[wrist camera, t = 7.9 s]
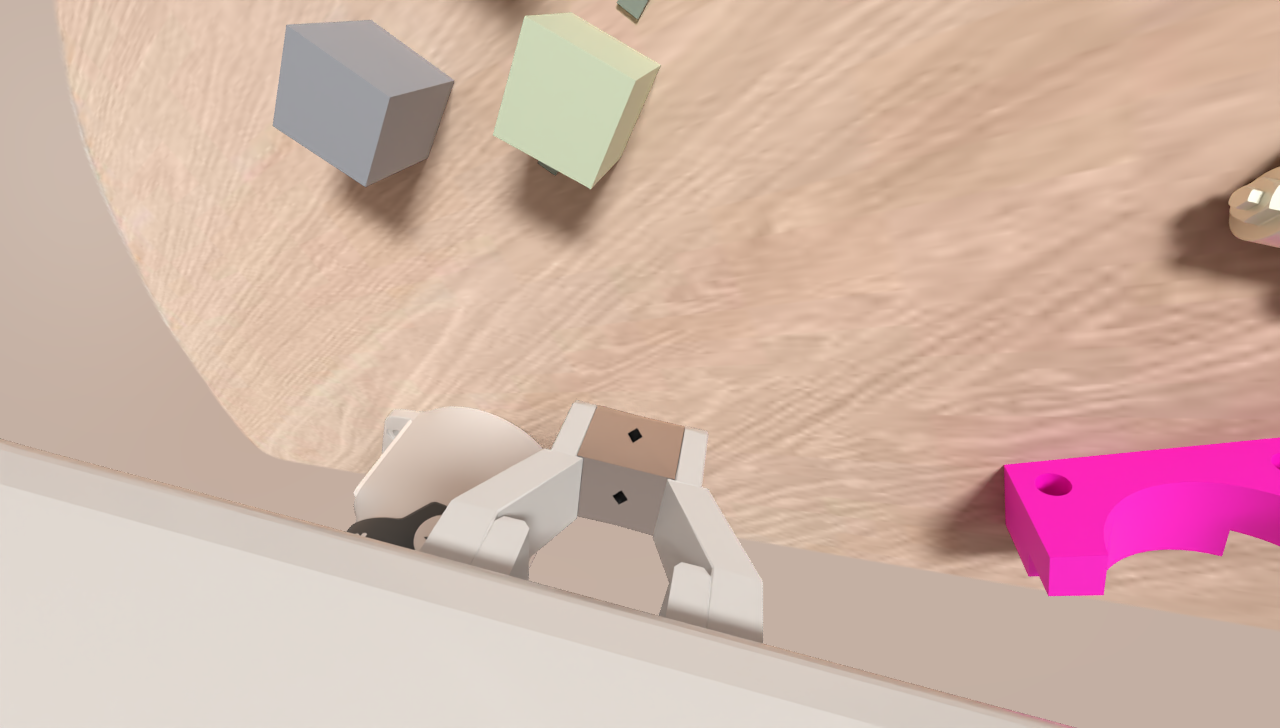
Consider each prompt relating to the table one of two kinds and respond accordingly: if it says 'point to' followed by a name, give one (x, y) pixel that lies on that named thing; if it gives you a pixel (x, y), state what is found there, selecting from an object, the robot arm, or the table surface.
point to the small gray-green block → (548, 168)
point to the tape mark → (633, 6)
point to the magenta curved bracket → (1138, 507)
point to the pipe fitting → (1257, 210)
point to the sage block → (573, 95)
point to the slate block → (359, 98)
